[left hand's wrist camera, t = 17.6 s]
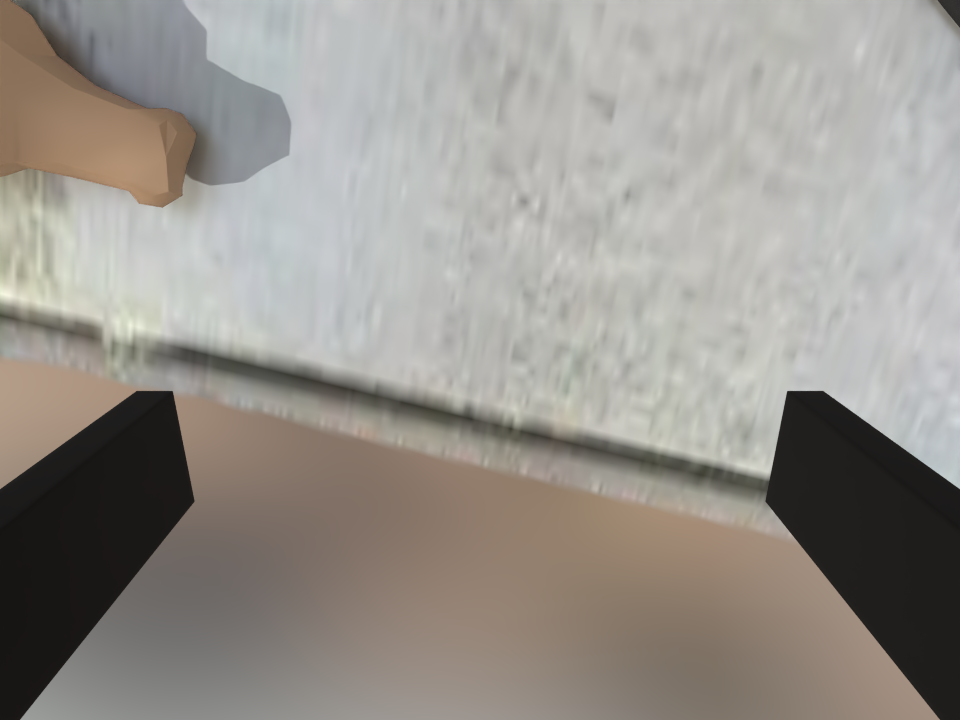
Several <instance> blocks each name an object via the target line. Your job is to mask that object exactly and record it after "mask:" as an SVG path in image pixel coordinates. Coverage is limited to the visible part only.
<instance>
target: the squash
mask: <svg viewBox="0 0 960 720" xmlns="http://www.w3.org/2000/svg"><path fill="white" fill-rule="evenodd" d="M196 135H197V134H196V133H195V131H194V130H193V128H192V127H191V125H190V124H189V122H188V121H187V119H186V118H185V117H184V115H183V114H181V113H178V112H175V111H172V110H170V109H167V108H154V109H147V108H145V107H143V106H140V105H138V104H136V103H133V102H131V101H129V100H127V99H124V98H122V97H120V96H118V95H115V94H113V93H111V92H109V91H106V90H104V89H102V88H100V87H97V86H95V85H94V84H93V83H92V82H90V81H89V80H88V79H86V78H85V77H84V76H83V75H81V74H80V73H79V72H77V71H76V70H75V69H73V68H72V67H71V66H70V65H68V64H67V63H66V62H64V61H63V60H62V59H61V58H59V57H58V56H57V55H56V53H55V52H54V50H53V49H52V47H51V46H50V44H49V42H48V41H47V39H46V38H45V36H44V35H43V33H42V31H41V30H40V28H39V27H38V25H37V24H36V22H35V20H34V19H33V17H32V16H31V15H30V14H29V13H27V12H26V11H25V10H23V9H22V8H20V7H19V6H18V5H16V4H15V3H13V2H12V1H11V0H0V177H1V176H6V175H9V174H12V173H15V172H18V171H21V170H24V169H27V168H32V169H36V170H41V171H46V172H50V173H55V174H60V175H64V176H69V177H74V178H78V179H82V180H86V181H90V182H95V183H99V184H103V185H107V186H111V187H115V188H119V189H123V190H127V191H129V192H130V193H131V194H132V195H133V197H134V198H135V199H136V200H137V202H138V203H139V204H145V205H151V206H157V207H164V206H166V205H167V204H169V203H171V202H172V201H174V200H175V199H177V198H179V197H180V196H182V187H183V182H184V177H185V172H186V168H187V163H188V161H189V158H190V155H191V152H192V150H193V147H194V144H195V140H196Z"/></svg>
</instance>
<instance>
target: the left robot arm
mask: <svg viewBox="0 0 960 720" xmlns="http://www.w3.org/2000/svg"><path fill="white" fill-rule="evenodd" d="M938 1H939V2H940V4H941V5H942V6H943V7H944V9H945V10H946V11H947V12H948V14H949V15H950V16H951V17H952V19H953V20H954V21H955V22H956V23H957V25H958V26H959V27H960V0H938ZM193 503H194V496H193V491H192V486H191V481H190V476H189V471H188V466H187V461H186V456H185V451H184V446H183V441H182V436H181V431H180V426H179V421H178V416H177V410H176V405H175V401H174V395H173V391H136V392H135V393H134V394H132V395H131V396H129V397H128V398H126V399H125V400H124V401H122V402H121V403H119V404H118V405H117V406H115V407H114V408H113V409H111V410H110V411H108V412H107V413H106V414H104V415H103V416H102V417H100V418H99V419H97V420H96V421H94V422H93V423H92V424H90V425H89V426H88V427H86V428H85V429H83V430H82V431H81V432H79V433H78V434H76V435H75V436H74V437H72V438H71V439H69V440H68V441H67V442H65V443H64V444H62V445H61V446H60V447H58V448H57V449H56V450H54V451H53V452H51V453H50V454H49V455H47V456H46V457H44V458H43V459H42V460H40V461H39V462H37V463H36V464H35V465H33V466H32V467H30V468H29V469H28V470H26V471H25V472H24V473H22V474H21V475H19V476H18V477H17V478H15V479H14V480H12V481H11V482H10V483H8V484H7V485H6V486H4V487H3V488H1V489H0V720H20V719H21V718H22V716H23V715H24V714H25V713H26V711H27V710H28V709H29V708H30V706H31V705H32V704H33V703H34V701H35V700H36V699H37V698H38V696H39V695H40V694H41V693H42V691H43V690H44V689H45V688H46V686H47V685H48V684H49V683H50V681H51V680H52V679H53V678H54V676H55V675H56V674H57V673H58V671H59V670H60V669H61V668H62V666H63V665H64V664H65V663H66V661H67V660H68V659H69V658H70V656H71V655H72V654H73V653H74V651H75V650H76V649H77V648H78V646H79V645H80V644H81V643H82V641H83V640H84V639H85V638H86V636H87V635H88V634H89V633H90V631H91V630H92V629H93V628H94V626H95V625H96V624H97V623H98V621H99V620H100V619H101V618H102V616H103V615H104V614H105V613H106V611H107V610H108V609H109V608H110V606H111V605H112V604H113V603H114V601H115V600H116V599H117V598H118V596H119V595H120V594H121V593H122V591H123V590H124V589H125V588H126V586H127V585H128V584H129V583H130V581H131V580H132V579H133V578H134V576H135V575H136V574H137V573H138V571H139V570H140V569H141V568H142V566H143V565H144V564H145V563H146V561H147V560H148V559H149V558H150V556H151V555H152V554H153V553H154V551H155V550H156V549H157V548H158V546H159V545H160V544H161V543H162V541H163V540H164V539H165V538H166V536H167V535H168V534H169V533H170V531H171V530H172V529H173V528H174V526H175V525H176V524H177V523H178V521H179V520H180V519H181V518H182V516H183V515H184V514H185V513H186V511H187V510H188V509H189V508H190V506H191V505H192V504H193ZM766 503H767V504H768V505H769V506H770V508H771V509H772V510H773V511H774V513H775V514H776V515H777V516H778V518H779V519H780V520H781V521H782V523H783V524H784V525H785V526H786V528H787V529H788V530H789V531H790V533H791V534H792V535H793V536H794V538H795V539H796V540H797V541H798V543H799V544H800V545H801V546H802V548H803V549H804V550H805V551H806V553H807V554H808V555H809V556H810V558H811V559H812V560H813V561H814V563H815V564H816V565H817V566H818V568H819V569H820V570H821V571H822V573H823V574H824V575H825V576H826V578H827V579H828V580H829V581H830V583H831V584H832V585H833V586H834V588H835V589H836V590H837V591H838V593H839V594H840V595H841V596H842V598H843V599H844V600H845V601H846V603H847V604H848V605H849V606H850V608H851V609H852V610H853V611H854V613H855V614H856V615H857V616H858V618H859V619H860V620H861V621H862V623H863V624H864V625H865V626H866V628H867V629H868V630H869V631H870V633H871V634H872V635H873V636H874V638H875V639H876V640H877V641H878V643H879V644H880V645H881V646H882V648H883V649H884V650H885V651H886V653H887V654H888V655H889V656H890V658H891V659H892V660H893V661H894V663H895V664H896V665H897V666H898V668H899V669H900V670H901V671H902V673H903V674H904V675H905V676H906V678H907V679H908V680H909V681H910V683H911V684H912V685H913V686H914V688H915V689H916V690H917V691H918V693H919V694H920V695H921V696H922V698H923V699H924V700H925V701H926V703H927V704H928V705H929V706H930V708H931V709H932V710H933V711H934V713H935V714H936V715H937V716H938V718H939V719H940V720H960V489H959V488H957V487H956V486H955V485H953V484H952V483H950V482H949V481H948V480H946V479H945V478H943V477H942V476H941V475H939V474H938V473H936V472H935V471H934V470H932V469H931V468H930V467H928V466H927V465H925V464H924V463H923V462H921V461H920V460H918V459H917V458H916V457H914V456H913V455H911V454H910V453H909V452H907V451H906V450H904V449H903V448H902V447H900V446H899V445H898V444H896V443H895V442H893V441H892V440H891V439H889V438H888V437H886V436H885V435H884V434H882V433H881V432H879V431H878V430H877V429H875V428H874V427H872V426H871V425H870V424H868V423H867V422H866V421H864V420H863V419H861V418H860V417H859V416H857V415H856V414H854V413H853V412H852V411H850V410H849V409H847V408H846V407H845V406H843V405H842V404H840V403H839V402H838V401H836V400H835V399H834V398H832V397H831V396H829V395H828V394H827V393H825V392H824V391H787V395H786V400H785V405H784V410H783V416H782V421H781V426H780V431H779V436H778V441H777V446H776V451H775V456H774V461H773V466H772V471H771V476H770V481H769V486H768V491H767V496H766Z"/></svg>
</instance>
